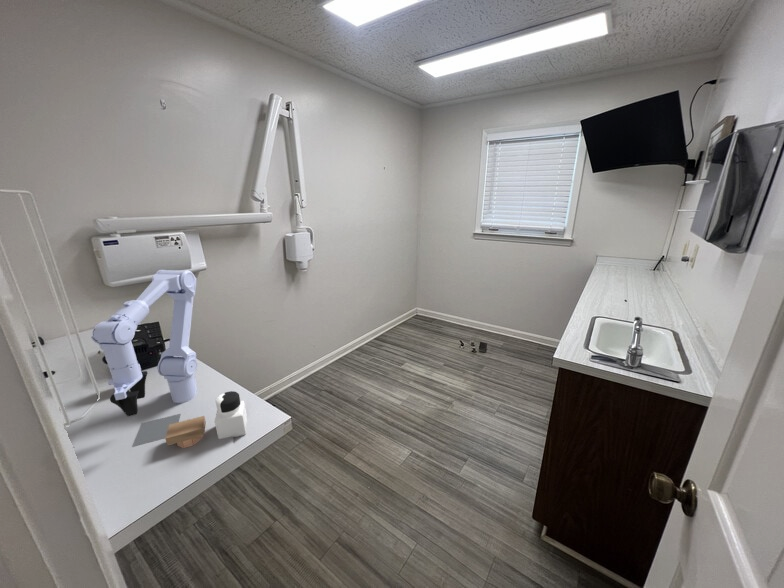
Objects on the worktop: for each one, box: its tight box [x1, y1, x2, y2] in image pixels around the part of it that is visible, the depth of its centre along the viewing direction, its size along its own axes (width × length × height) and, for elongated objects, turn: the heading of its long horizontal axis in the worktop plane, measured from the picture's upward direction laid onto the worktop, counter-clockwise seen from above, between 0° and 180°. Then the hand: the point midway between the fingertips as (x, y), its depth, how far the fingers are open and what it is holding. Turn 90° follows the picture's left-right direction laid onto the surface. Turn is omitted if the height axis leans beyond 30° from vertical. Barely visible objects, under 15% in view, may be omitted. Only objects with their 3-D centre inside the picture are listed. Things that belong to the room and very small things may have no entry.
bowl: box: [176, 436, 202, 449], centre depth 87 cm, size 6×6×3 cm
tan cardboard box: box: [164, 415, 207, 446], centre depth 86 cm, size 6×8×2 cm, turn 116°
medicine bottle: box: [214, 390, 248, 440], centre depth 90 cm, size 7×7×12 cm
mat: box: [131, 413, 181, 448], centre depth 91 cm, size 10×10×1 cm
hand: (136, 405), depth 86 cm, fingers open, 7 cm apart
